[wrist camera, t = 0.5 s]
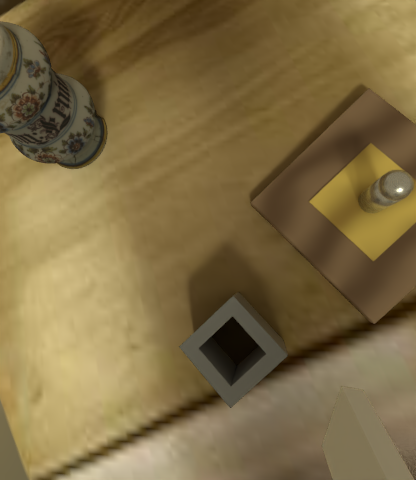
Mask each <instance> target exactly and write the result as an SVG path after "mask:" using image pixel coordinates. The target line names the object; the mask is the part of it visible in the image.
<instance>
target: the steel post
mask: <svg viewBox="0 0 416 480" xmlns="http://www.w3.org/2000/svg"><path fill="white" fill-rule="evenodd" d="M413 187H414V181H413V178H412V176H411V175H410V174H409V173H407V172H405V171H403V170H392V171H389V172H387V173H385V174H384V175H383V176H381V177H380V178H379V179H378V180H377V181H375V182H374V183H373V184H372V185H370V186H369V187H368V188H367V189H366V190H364V191H363V192H362V193H361V194H360V196H359V200H358V201H359V206H360V207H361V209H362V210H364V211H365V212H367V213H378V212H380V211H382V210H384V209H386V208H387V207H389V206H391V205H393V204H395V203H397V202H399V201H401V200H403V199H405V198H406V197H407V196H409V195H410V193H411V192H412V190H413Z"/></svg>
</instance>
